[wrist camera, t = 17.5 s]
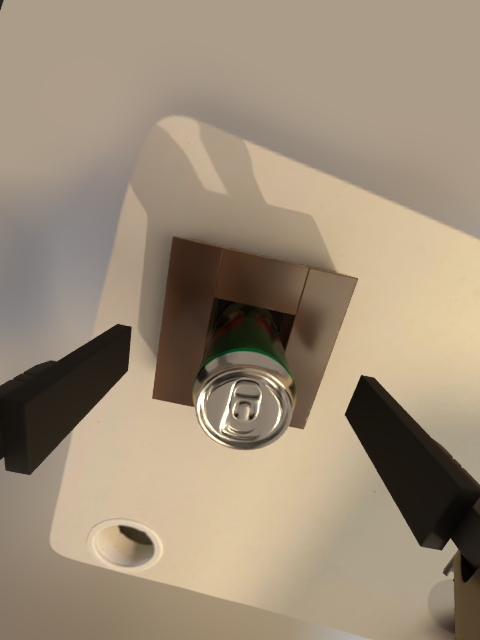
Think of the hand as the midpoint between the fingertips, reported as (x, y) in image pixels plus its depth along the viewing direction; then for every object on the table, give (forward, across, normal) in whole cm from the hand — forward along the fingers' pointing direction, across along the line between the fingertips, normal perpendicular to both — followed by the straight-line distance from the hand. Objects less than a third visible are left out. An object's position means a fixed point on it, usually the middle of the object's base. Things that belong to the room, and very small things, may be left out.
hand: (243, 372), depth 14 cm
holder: (+9, 0, 0) cm, 9 cm away
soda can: (+9, 0, 0) cm, 9 cm away
